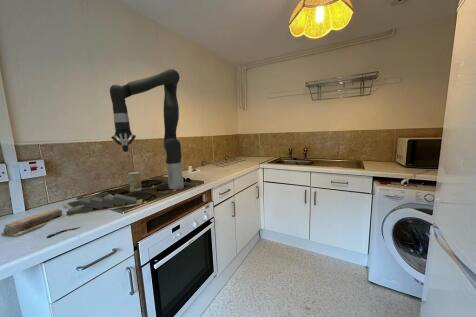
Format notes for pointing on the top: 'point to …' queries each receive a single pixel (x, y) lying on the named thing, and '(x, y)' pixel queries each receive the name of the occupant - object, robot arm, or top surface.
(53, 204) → the top surface
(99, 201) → the domino
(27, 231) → the packaged product
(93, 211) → the oak board
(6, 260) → the top surface
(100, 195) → the picture frame
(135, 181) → the skincare box
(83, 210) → the domino
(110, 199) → the domino
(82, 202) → the domino
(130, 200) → the domino
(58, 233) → the chef's knife
